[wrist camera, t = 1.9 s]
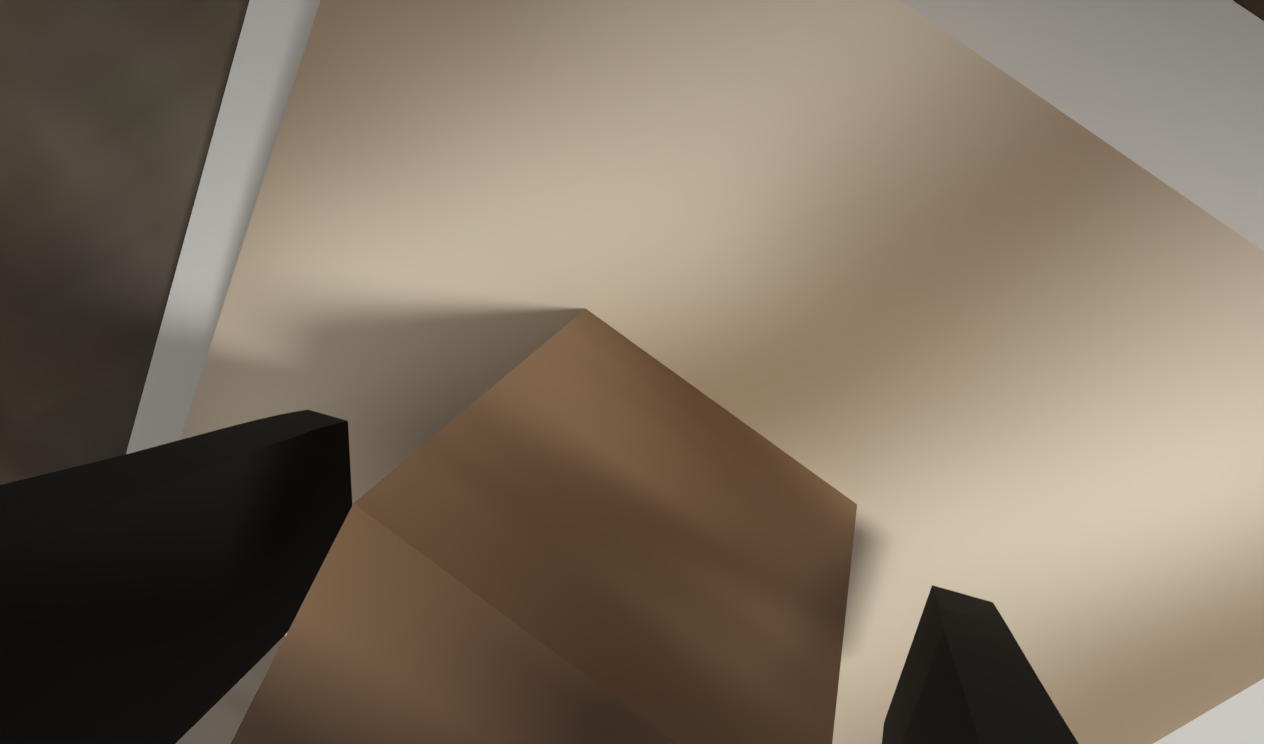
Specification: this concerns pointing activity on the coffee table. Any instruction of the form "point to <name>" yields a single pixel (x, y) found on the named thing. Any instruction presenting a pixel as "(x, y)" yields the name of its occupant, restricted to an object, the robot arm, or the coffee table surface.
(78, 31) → the coffee table surface
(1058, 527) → the cover board
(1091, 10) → the mat
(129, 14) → the coffee table surface
